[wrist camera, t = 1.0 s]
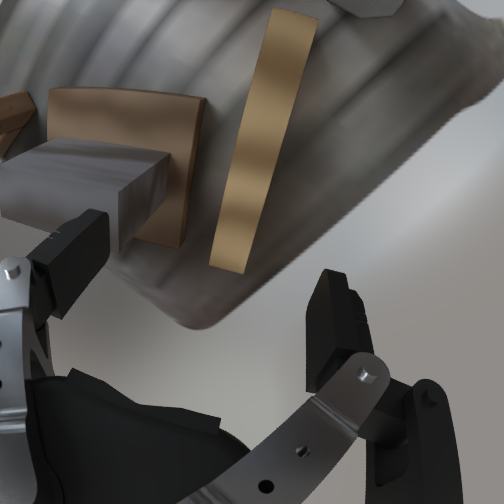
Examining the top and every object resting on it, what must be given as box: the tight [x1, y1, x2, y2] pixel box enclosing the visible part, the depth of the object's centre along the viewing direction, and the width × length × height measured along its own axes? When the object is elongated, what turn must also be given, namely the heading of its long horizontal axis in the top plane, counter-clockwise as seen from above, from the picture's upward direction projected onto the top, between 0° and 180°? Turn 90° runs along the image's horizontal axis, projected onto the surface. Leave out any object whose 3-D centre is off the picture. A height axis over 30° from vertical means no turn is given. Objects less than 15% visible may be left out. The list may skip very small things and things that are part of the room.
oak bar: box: [209, 7, 319, 274], centre depth 26 cm, size 24×4×5 cm, turn 165°
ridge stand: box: [0, 87, 206, 253], centre depth 25 cm, size 16×18×12 cm
